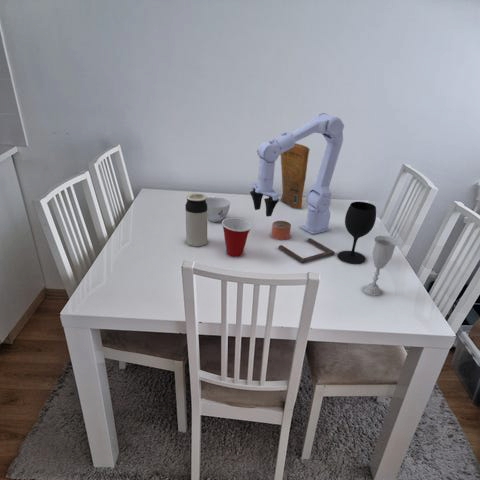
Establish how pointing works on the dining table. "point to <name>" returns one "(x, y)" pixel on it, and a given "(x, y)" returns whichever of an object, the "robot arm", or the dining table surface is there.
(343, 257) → the wine glass
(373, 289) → the chalice
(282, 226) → the tin can
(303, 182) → the pancake mix bag
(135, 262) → the dining table surface
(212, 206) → the teacup
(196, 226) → the travel mug
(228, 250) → the plastic cup
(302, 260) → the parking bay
